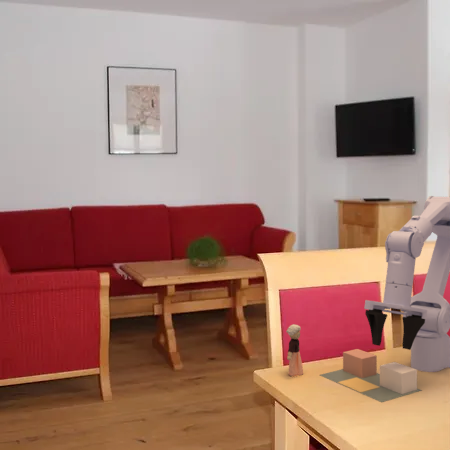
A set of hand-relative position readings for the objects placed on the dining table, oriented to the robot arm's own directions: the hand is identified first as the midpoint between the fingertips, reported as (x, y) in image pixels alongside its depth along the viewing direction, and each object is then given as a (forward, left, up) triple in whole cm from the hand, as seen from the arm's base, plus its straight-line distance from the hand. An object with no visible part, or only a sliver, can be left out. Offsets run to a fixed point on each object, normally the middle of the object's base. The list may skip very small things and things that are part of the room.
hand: (391, 347), depth 128 cm
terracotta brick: (-1, -11, -9) cm, 15 cm away
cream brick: (-1, +1, -9) cm, 9 cm away
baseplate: (+2, -5, -10) cm, 11 cm away
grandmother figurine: (+12, -19, -10) cm, 25 cm away
